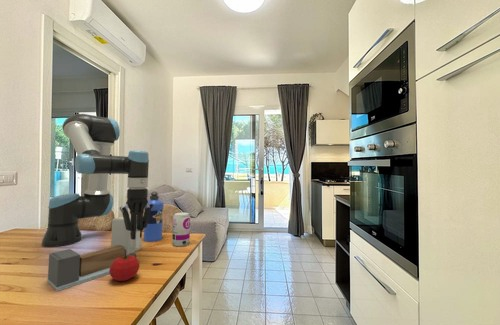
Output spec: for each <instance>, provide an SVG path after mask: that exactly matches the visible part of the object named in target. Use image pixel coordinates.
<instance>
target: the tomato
mask: <svg viewBox="0 0 500 325" xmlns="http://www.w3.org/2000/svg"><path fill="white" fill-rule="evenodd" d="M139 269H140V261H139V259H138V258H137V256H136V257H135V256H131V255H130V254H129V255H125V256H120V257H119V258H117V259H115V260H114V261H113V263H112V264H111V267H110V270H109V271H110V274H109V276H110V277H111V278H112V279H113V280H115V281H117V282H125V281H128V280H131V279H132V278H133V277H134V276H136V275H137V273H138V272H139Z"/></svg>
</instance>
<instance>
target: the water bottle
mask: <svg viewBox="0 0 500 325" xmlns="http://www.w3.org/2000/svg"><path fill="white" fill-rule="evenodd" d="M159 198H160V197H159V193H158V191H152V192H151V193H150V196H149V200H148V203H150V204H153V207H152V209H151V211H150V215H149V219H148V223H147V227H146V228H143V238H142V239H143V240H142V241H144V242H146V241H147V243H153V241H155V242H158V241H159V242H160V241H161V240H162V239H163V224H164V223H163V212H164V202H163V201H161V200H159ZM145 208H146V207H145ZM145 208H144V211H145Z"/></svg>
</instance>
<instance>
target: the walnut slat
mask: <svg viewBox="0 0 500 325" xmlns="http://www.w3.org/2000/svg"><path fill="white" fill-rule="evenodd" d="M79 255H80V265H79V276H80V277H82V276H85V275H88V274H91V273H94V272H97V271H101V270H104V269H107V268H110V267H111V264H112V263H113V261H114V260H115V259H117V258H119V257H120V256H125V247H124V246H121V245H117V246H113V247H111V246H110V247H105V248H102V249H97V250H94V251H89V252H86V253H82V254H79Z"/></svg>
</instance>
